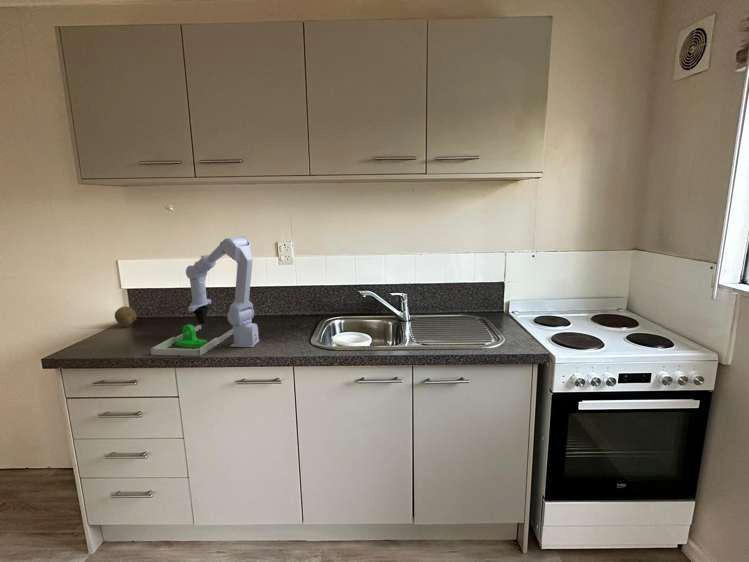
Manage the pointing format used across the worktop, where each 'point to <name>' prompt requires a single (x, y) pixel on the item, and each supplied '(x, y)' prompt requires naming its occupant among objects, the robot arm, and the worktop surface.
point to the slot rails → (218, 338)
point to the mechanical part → (190, 338)
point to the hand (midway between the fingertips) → (202, 323)
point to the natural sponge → (125, 316)
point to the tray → (163, 349)
